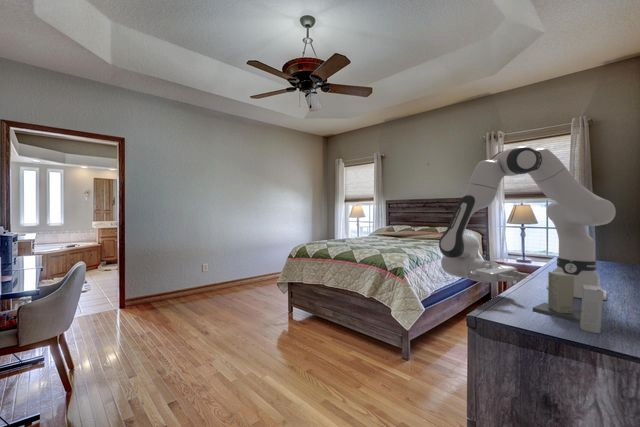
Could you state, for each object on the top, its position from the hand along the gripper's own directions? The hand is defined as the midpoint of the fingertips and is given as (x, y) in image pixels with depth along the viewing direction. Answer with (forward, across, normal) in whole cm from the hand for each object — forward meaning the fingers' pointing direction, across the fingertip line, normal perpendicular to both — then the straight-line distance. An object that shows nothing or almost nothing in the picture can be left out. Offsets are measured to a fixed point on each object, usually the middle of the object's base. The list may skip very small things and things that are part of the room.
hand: (519, 278), depth 106 cm
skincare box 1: (+12, 0, +8) cm, 15 cm away
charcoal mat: (+12, 0, +9) cm, 15 cm away
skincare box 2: (+22, -8, +9) cm, 25 cm away
